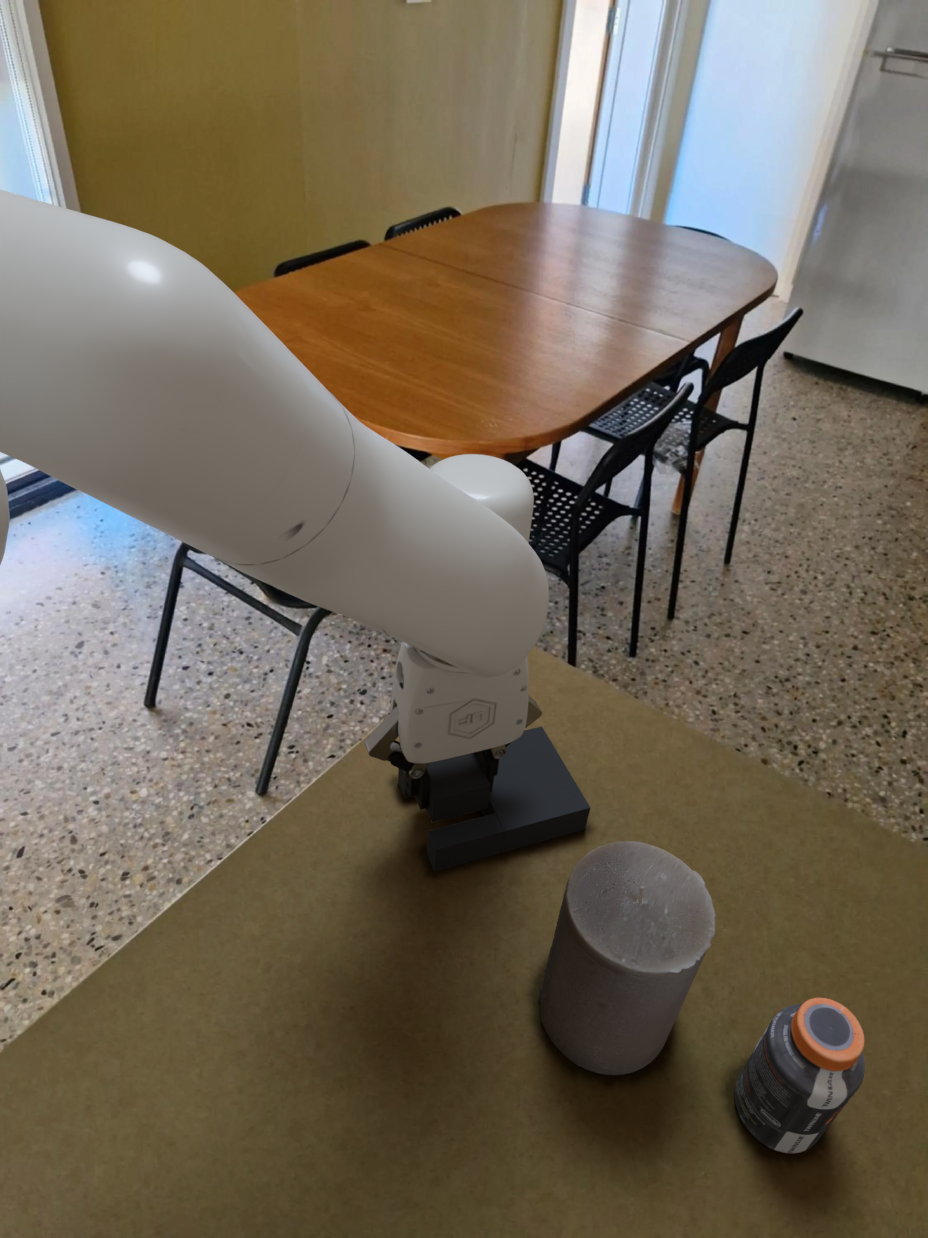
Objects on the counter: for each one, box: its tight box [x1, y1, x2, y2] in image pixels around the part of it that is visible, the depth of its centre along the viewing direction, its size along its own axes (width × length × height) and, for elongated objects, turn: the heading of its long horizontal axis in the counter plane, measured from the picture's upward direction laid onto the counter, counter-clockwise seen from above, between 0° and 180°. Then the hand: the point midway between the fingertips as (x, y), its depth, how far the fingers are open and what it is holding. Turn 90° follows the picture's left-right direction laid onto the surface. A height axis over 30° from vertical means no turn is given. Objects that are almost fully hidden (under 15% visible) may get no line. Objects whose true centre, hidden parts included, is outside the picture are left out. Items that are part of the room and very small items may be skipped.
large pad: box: [397, 726, 591, 872], centre depth 78 cm, size 14×10×3 cm
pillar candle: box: [537, 840, 717, 1076], centre depth 60 cm, size 10×10×15 cm
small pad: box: [425, 753, 490, 824], centre depth 75 cm, size 5×5×3 cm
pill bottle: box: [734, 997, 866, 1154], centre depth 57 cm, size 6×6×11 cm
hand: (450, 786), depth 75 cm, fingers closed on small pad, 5 cm apart
